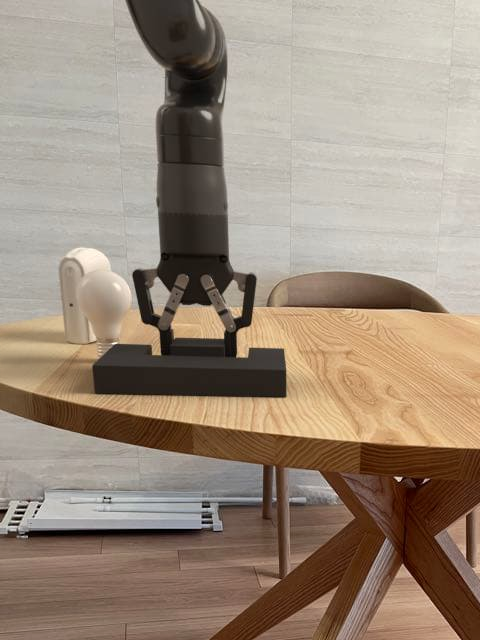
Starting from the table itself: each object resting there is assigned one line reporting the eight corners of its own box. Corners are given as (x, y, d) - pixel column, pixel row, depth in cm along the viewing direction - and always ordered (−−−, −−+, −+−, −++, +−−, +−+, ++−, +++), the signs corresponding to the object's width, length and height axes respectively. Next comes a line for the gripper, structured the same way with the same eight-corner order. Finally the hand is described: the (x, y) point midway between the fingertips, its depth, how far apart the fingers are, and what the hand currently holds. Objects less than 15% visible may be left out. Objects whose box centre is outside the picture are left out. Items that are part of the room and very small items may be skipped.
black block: (171, 372, 94) (169, 345, 93) (176, 362, 100) (175, 337, 99) (224, 373, 95) (223, 346, 94) (227, 363, 101) (226, 338, 100)
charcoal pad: (94, 393, 87) (91, 365, 86) (116, 368, 99) (114, 343, 98) (286, 397, 90) (286, 369, 89) (284, 372, 103) (284, 348, 101)
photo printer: (91, 345, 114) (83, 250, 109) (61, 343, 114) (51, 248, 109) (120, 334, 123) (113, 247, 118) (91, 332, 123) (84, 245, 119)
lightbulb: (145, 360, 106) (140, 270, 101) (116, 367, 100) (109, 272, 96) (103, 355, 107) (95, 266, 103) (71, 362, 101) (62, 268, 97)
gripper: (259, 212, 96) (261, 358, 102) (130, 206, 93) (140, 356, 100) (258, 213, 89) (261, 370, 95) (119, 206, 86) (131, 367, 93)
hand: (199, 362), depth 97 cm, fingers closed on black block, 6 cm apart
